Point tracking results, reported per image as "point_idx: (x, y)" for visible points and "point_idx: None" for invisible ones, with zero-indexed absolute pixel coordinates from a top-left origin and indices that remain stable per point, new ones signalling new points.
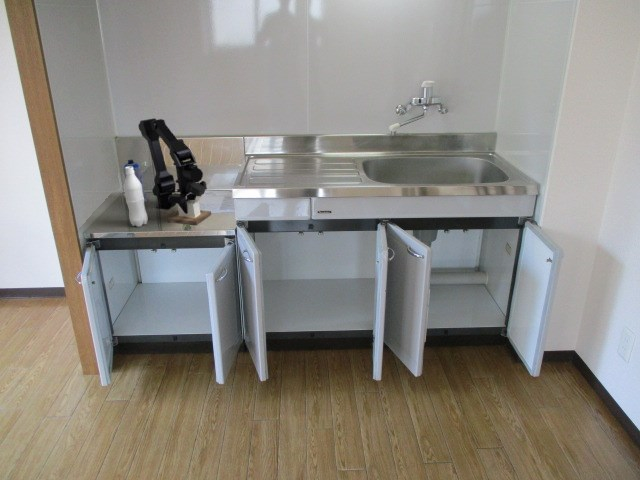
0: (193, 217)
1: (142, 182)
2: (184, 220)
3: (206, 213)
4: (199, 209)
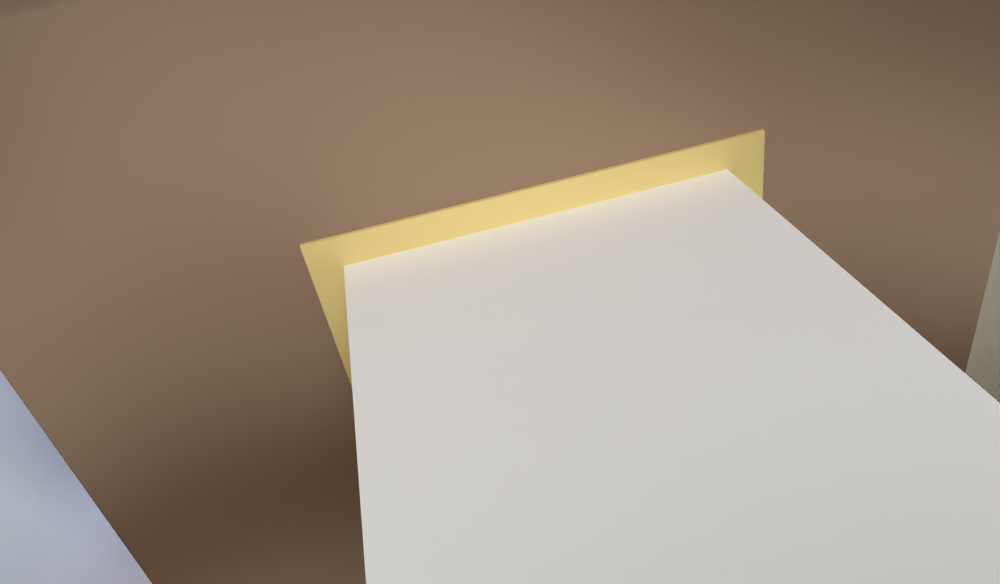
0: None
1: None
2: (982, 280)
3: (153, 72)
4: (387, 377)
